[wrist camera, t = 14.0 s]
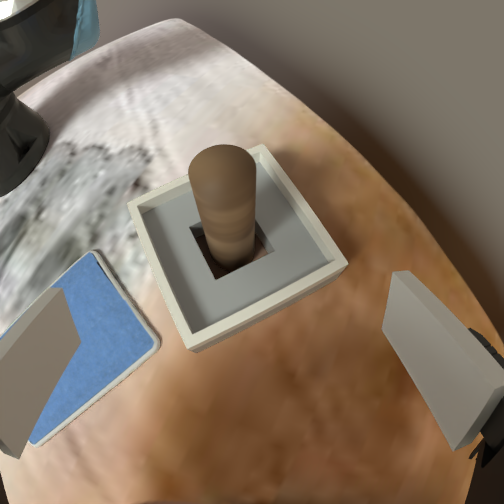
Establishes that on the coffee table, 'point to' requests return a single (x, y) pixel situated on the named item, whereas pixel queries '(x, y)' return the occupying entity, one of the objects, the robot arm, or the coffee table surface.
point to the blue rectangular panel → (93, 343)
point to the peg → (226, 203)
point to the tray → (245, 278)
